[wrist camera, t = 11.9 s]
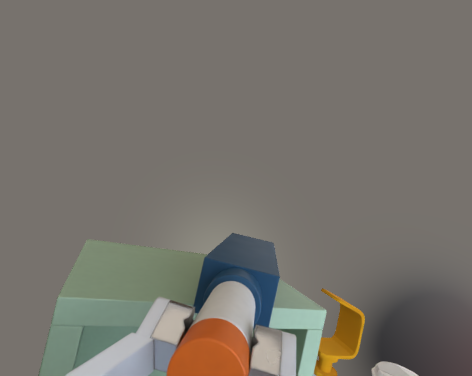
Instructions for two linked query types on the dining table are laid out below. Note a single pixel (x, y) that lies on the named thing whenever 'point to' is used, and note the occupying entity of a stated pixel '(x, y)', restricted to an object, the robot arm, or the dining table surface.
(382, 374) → the paper cup
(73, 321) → the stand
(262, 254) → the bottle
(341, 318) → the soap bottle
